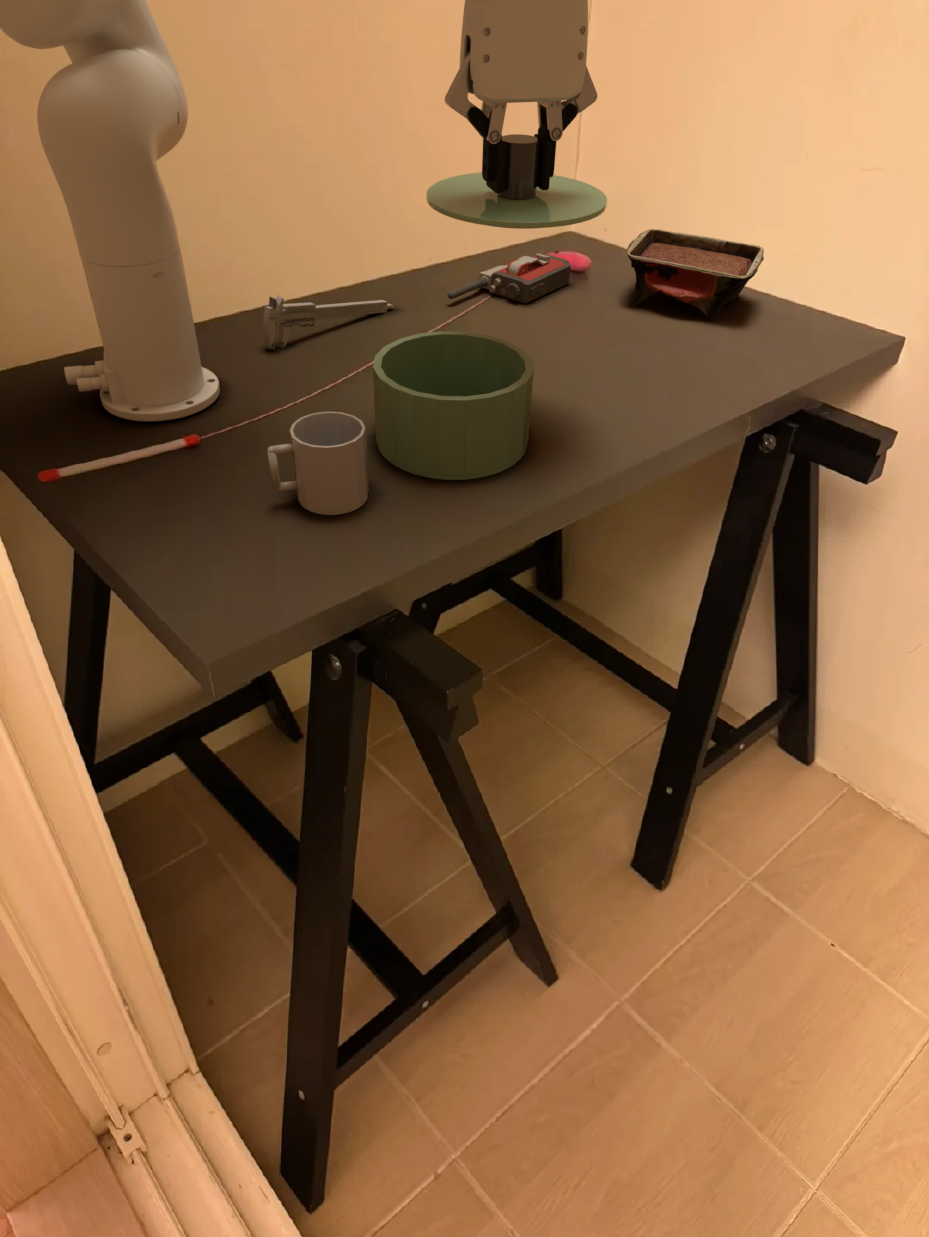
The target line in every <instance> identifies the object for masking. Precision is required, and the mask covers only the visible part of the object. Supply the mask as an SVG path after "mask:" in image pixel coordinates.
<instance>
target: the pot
mask: <svg viewBox="0 0 929 1237" xmlns="http://www.w3.org/2000/svg"><path fill="white" fill-rule="evenodd" d="M534 373H535V370H534V364H533V360H532V358H531V357H530V356H529V355H528V353H527V352H526V351H525V350H524V349H522V348H521V347H519V346H517V345H515V344H513V343H511V342H509V341H508V340H504V339H501V338H498V337H495V336H492V335H487V334H481V333H475V332H469V331H446V330H445V331H444V330H440V331H431V332H421V333H415V334H414V335H413V334H412V335H409V336H404V337H401V338H398V339H397V340H394V341H392V342H391V343H388V344H387V345H385V346H383V347H382V348H381V349H380V350H379V351H378V352H377V353H376V354H375V355H374V358H373V363H372V377H373V378H372V380H373V402H374V404H373V405H374V422H375V423H374V426H375V440H376V445H377V448H378V451H379V453H380V454H381V456H382V457H383V458H384V459H385V460H386V461H387V462H389V464H392V465H393V466H394V467H396V468H397V469H400V470H401V471H404V472H406V473H410V474H412V475H416V476H419V477H424V478H429V479H433V480H443V481H463V480H464V481H465V480H466V481H467V480H473V479H475V480H476V479H480V478H485V477H489V476H493V475H496V474H498V473H502V472H504V471H505V470H507V469H510V468H511V467H512V466H514V465H516V464H517V463H518V462H519V461H520V460H521V459H522V457H523V456H524V454H525V453H526V450H527V446H528V443H529V434H530V433H529V432H530V420H531V407H532V396H533V386H534V385H533V382H534Z"/></svg>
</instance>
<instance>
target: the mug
mask: <svg viewBox="0 0 929 1237" xmlns="http://www.w3.org/2000/svg"><path fill="white" fill-rule="evenodd" d="M289 439H290V443H284V444H283V443H282V444H276V445H270V446H268V447H267V449H266V451H267V458H268V466H269V471H270V472H269V473H270V479H271V480H270V481H271V488H272V491H273V492H275V493H281V492H288V491H294V490H296V495H297V500H298V503H299V504H300V506H302V507H303V509H305V510H307V511H309V512H310V513H314V514H317V515H318V514H319V515H323V516H325V515H326V516H335V515H336V516H337V515H343V514H344V515H345V514H348V513H351V512H354V511H355V510H357V509H359V508H361V507H362V506H364V505H365V503H366V502H367V501H368V498H369V491H370V489H369V488H370V487H369V486H370V485H369V467H368V449H367V432H366V426H365V424H364V422H363V420H361V419H360V418H358V417H357V416H355V415H354V414H349V413H347V412H343V411H319V412H313V413H310V414H307V415H304V416H301V417H299V418H298V419H297V420H295V421H293V423H292V424H291V426H290V429H289ZM290 453H291V455H292V465H293V472H294V473H293V474H294V480H289V481H281V474H280V466H279V457H278V455H282V454H290Z"/></svg>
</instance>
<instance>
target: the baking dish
mask: <svg viewBox="0 0 929 1237" xmlns="http://www.w3.org/2000/svg"><path fill="white" fill-rule="evenodd" d="M764 252H765V249H764V248H763V247H762V246H760V245H756V244H752V243H745V242H739V241H734V240H725V239H721V238H716V237H709V236H705V235H704V236H703V235H697V234H689V233H683V232H675V231H669V230H665V229H654V228H649V229H647V230H645V231H643V232H640V234H638V236H636V238H634V239H633V240H632V241H631V242H630V243H629V244H628V246H627V249H626V255H627V257H628V259H629V260H630V265H631V266H630V267H631V268H632V269H633V270H634V273H635V285H634V291H633V296H632V306H633V307H634V306H636V305H637V304H638V303H640V302H641V301H643V300H644V299H646V298H648V297H650V296H652V295H654V294H655V293H658V292H661V294H662V295H664V296H666V297H667V298H670V299H671V300H673V301H675V302H678V303H683V304H687V305H690V306H693V307H695V308H697V309H699V310H700V311H701V312H702V313H703V314H704V315H706V317H707V318H708V319H711V318H713V317H714V316H715V315H716V314H717V313H718V312H719V311H721V309H722V308H723V307H724V306H725V305H726V304H727V305H728V304H730V303H733V302H734V301H735V300H736V299H738V297H739V295H740V294H741V292H742V291H743V289H744V288H745V286H746V285H747V283H748V282H749V281H750V280H751V279H753V277H755V275H756V274H757V272H758V269H759V267H760V266H761V264H762V263H763V261H764V260H765V259H764V258H765V257H764Z"/></svg>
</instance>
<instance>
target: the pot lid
mask: <svg viewBox="0 0 929 1237" xmlns="http://www.w3.org/2000/svg"><path fill="white" fill-rule="evenodd" d="M502 143H504V144H505V145H506V167H505V188H504V191H502V193H495V192H494V191H493V190H491V189H490V188H489V187H488V186H487V184H486V181H485V180H484V179H483V177H482V171H481V172H471V173H465V174H459V175H455V176H450V177H447V178H444V179H441V180H438V181H437V182H434V183H433V184H432V185H430V186H429V187H428V189H427V190H426V194H425V197H426V204H428V206H429V207H430V208H431V209H433V210H434V211H436V212H438V213H439V214H441V215H443V216H446V217H449V218H451V219H454V220H459V221H462V222H466V223H470V224H475V225H481V226H487V227H492V228H493V227H494V228H504V229H521V230H522V229H525V230H526V229H527V230H529V229H532V230H533V229H545V228H557V227H566V226H572V225H576V224H577V225H578V224H581V223H584V222H588V221H591V220H593V219H596V218H598V217H599V216H601V215H602V214H603V213H604V212H605V211H606V209H607V207H608V206H607V205H608V198H607V195H606V194H605V193H604V191H602V190H601V189H599V188H597V187H595V186H594V185H591V184H589V183H586V182H584V181H581V180H577V179H574V178H569V177H566V176H561V175H556V174H555V175H553V177H550V183H549V189H548V190H541V189H540V188H538V187H537V178H538V164H539V150H540V139H539V138H537V137H534V135H531V134H517V133H516V134H514V133H513V134H506V135H502Z"/></svg>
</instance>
